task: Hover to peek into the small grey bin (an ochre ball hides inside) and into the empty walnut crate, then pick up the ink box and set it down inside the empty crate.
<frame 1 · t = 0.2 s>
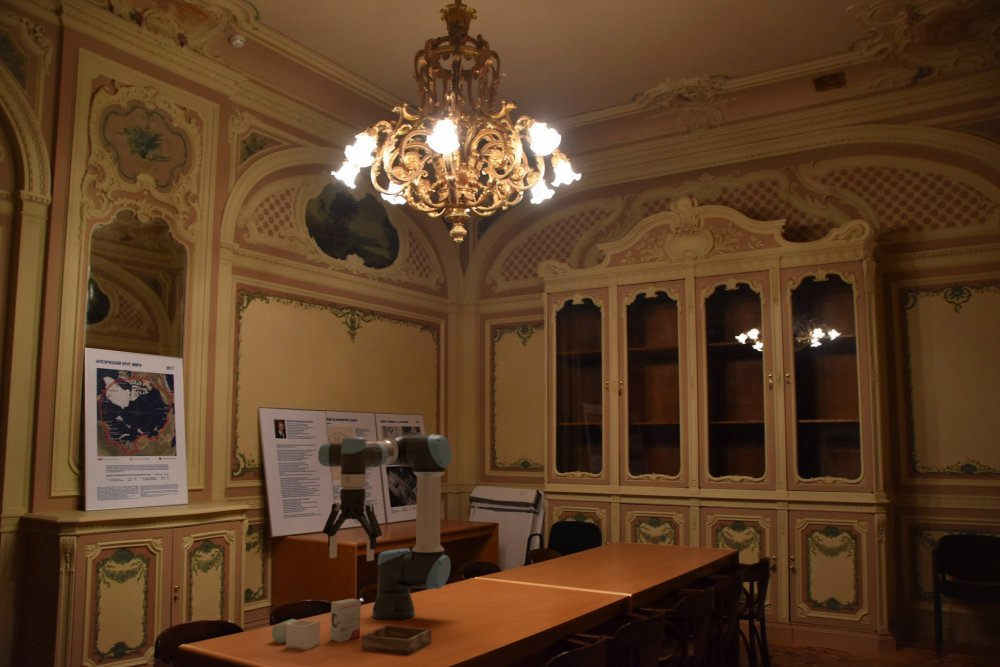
hand: (351, 559, 251), 27 cm above the table, fingers open, 13 cm apart
ink box: (345, 639, 265), on the table
crate: (397, 646, 256), on the table
toppled green cylinder: (286, 640, 262), on the table
small grey bin: (302, 646, 255), on the table
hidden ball: (302, 644, 256), point 1 cm above the table, touching small grey bin
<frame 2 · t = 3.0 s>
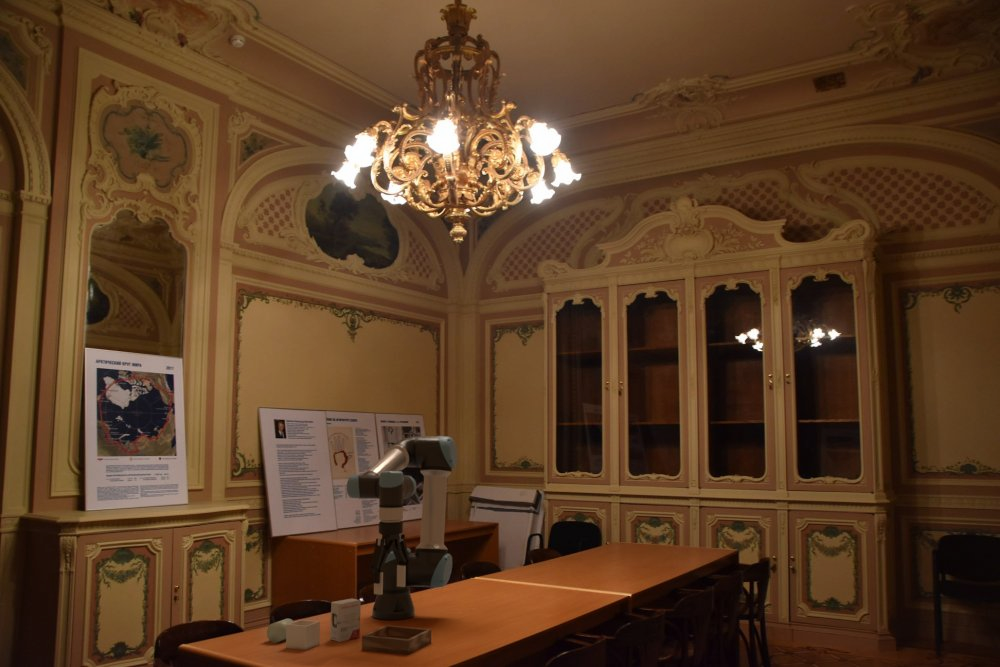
hand: (389, 590, 257), 17 cm above the table, fingers open, 13 cm apart
toppled green cylinder: (286, 638, 263), point 1 cm above the table, tilted 39°
everything else where it was.
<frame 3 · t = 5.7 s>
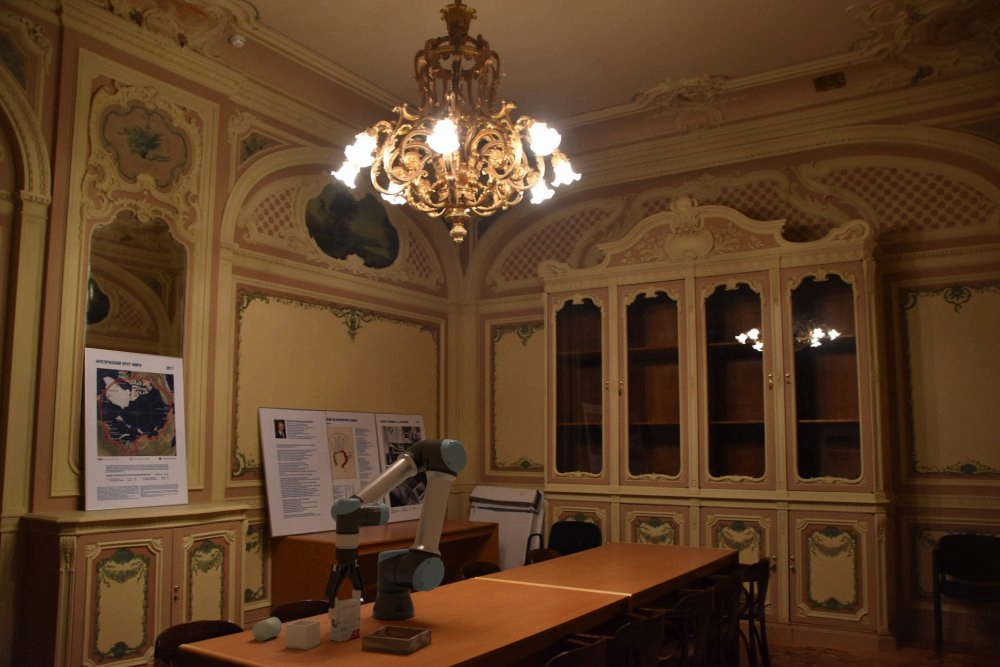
hand: (344, 614, 265), 7 cm above the table, fingers open, 13 cm apart
toppled green cylinder: (271, 621, 265), point 5 cm above the table, tilted 146°
everything else where it was.
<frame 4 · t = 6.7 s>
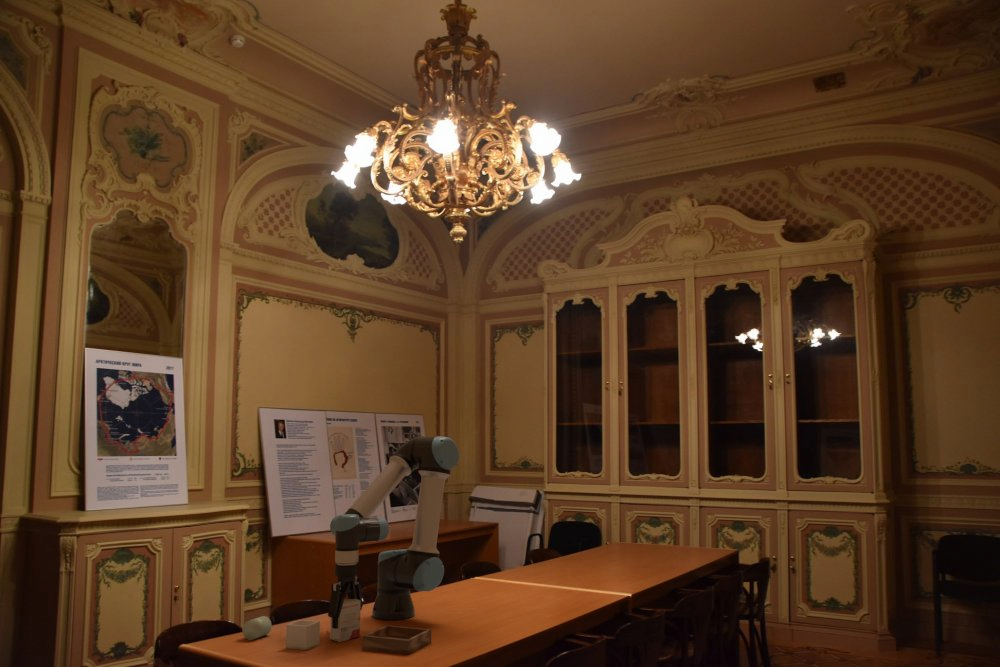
hand: (345, 634, 265), 1 cm above the table, fingers closed on ink box, 9 cm apart
ink box: (345, 639, 265), on the table, touching gripper
toppled green cylinder: (252, 620, 268), point 5 cm above the table, tilted 137°
everything else where it was.
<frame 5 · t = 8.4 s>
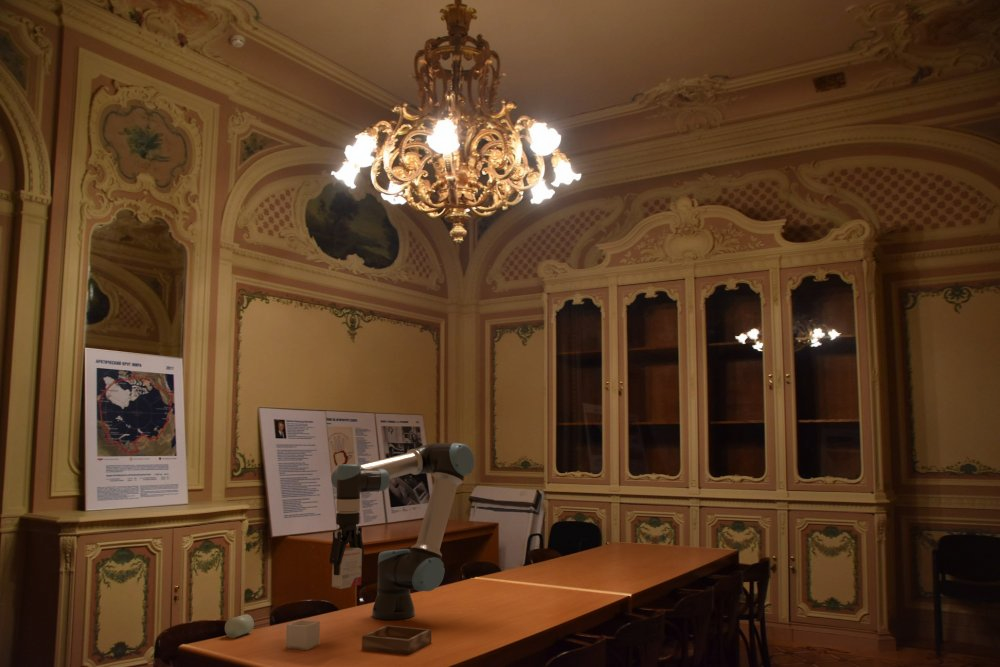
hand: (346, 582, 267), 17 cm above the table, fingers closed on ink box, 9 cm apart
ink box: (346, 587, 267), point 16 cm above the table, touching gripper
toppled green cylinder: (239, 635, 269), on the table
everything else where it was.
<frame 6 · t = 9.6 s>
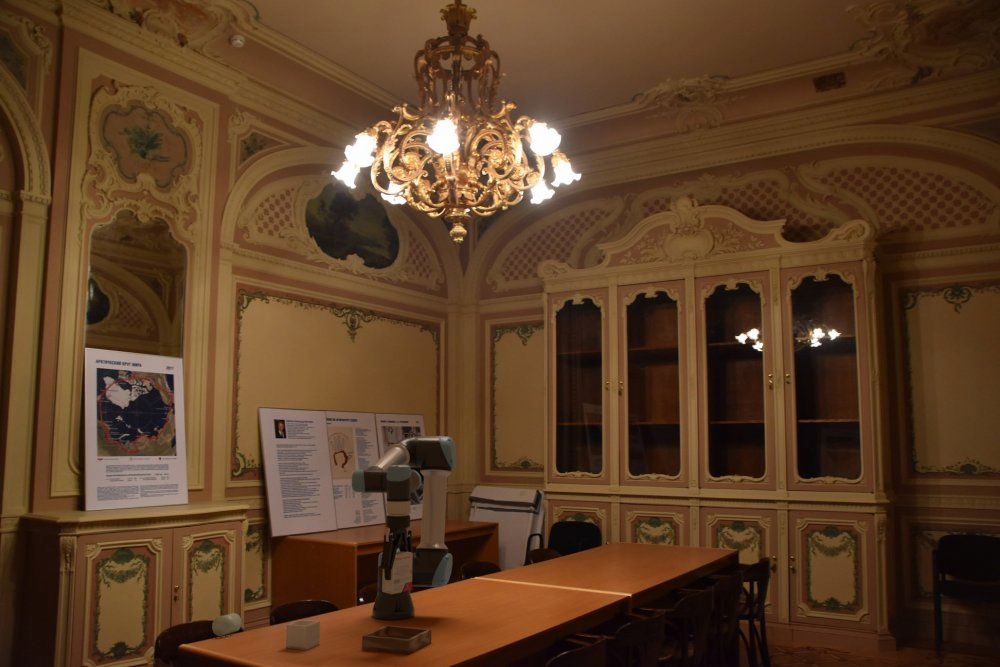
hand: (397, 587, 258), 18 cm above the table, fingers closed on ink box, 9 cm apart
ink box: (397, 592, 258), point 16 cm above the table, touching gripper
toppled green cylinder: (234, 623, 271), point 3 cm above the table, tilted 100°
everything else where it was.
when the fingers open (5 cm above the table, at t = 12.5 s): ink box drops 2 cm, resting on crate.
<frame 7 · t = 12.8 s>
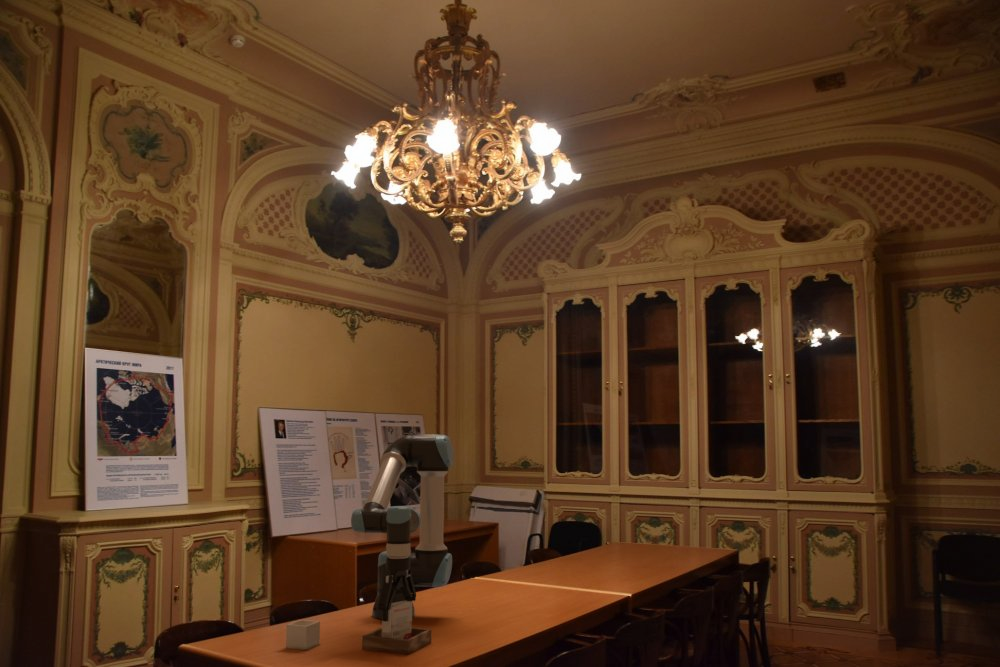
hand: (397, 627, 256), 6 cm above the table, fingers open, 13 cm apart
ink box: (396, 643, 255), point 1 cm above the table, touching crate
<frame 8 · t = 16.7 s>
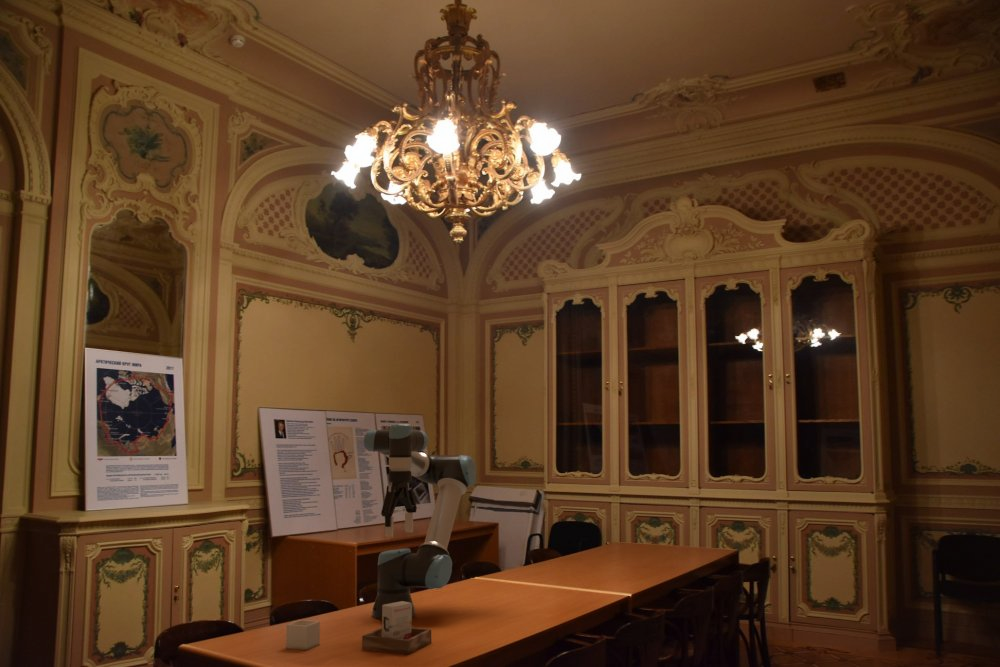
hand: (399, 534, 276), 32 cm above the table, fingers open, 13 cm apart
at the end: ink box inside the target area on the crate (0.4 cm from its centre), point 0.8 cm above the crate's base; ink box tilted 0°; the gripper is holding nothing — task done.
